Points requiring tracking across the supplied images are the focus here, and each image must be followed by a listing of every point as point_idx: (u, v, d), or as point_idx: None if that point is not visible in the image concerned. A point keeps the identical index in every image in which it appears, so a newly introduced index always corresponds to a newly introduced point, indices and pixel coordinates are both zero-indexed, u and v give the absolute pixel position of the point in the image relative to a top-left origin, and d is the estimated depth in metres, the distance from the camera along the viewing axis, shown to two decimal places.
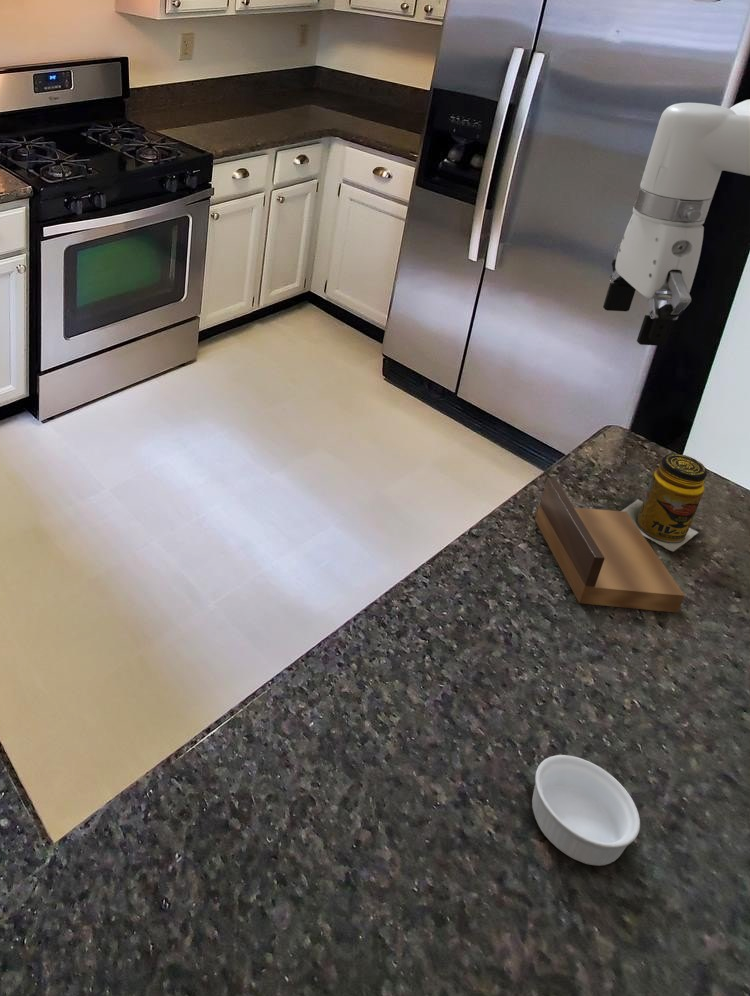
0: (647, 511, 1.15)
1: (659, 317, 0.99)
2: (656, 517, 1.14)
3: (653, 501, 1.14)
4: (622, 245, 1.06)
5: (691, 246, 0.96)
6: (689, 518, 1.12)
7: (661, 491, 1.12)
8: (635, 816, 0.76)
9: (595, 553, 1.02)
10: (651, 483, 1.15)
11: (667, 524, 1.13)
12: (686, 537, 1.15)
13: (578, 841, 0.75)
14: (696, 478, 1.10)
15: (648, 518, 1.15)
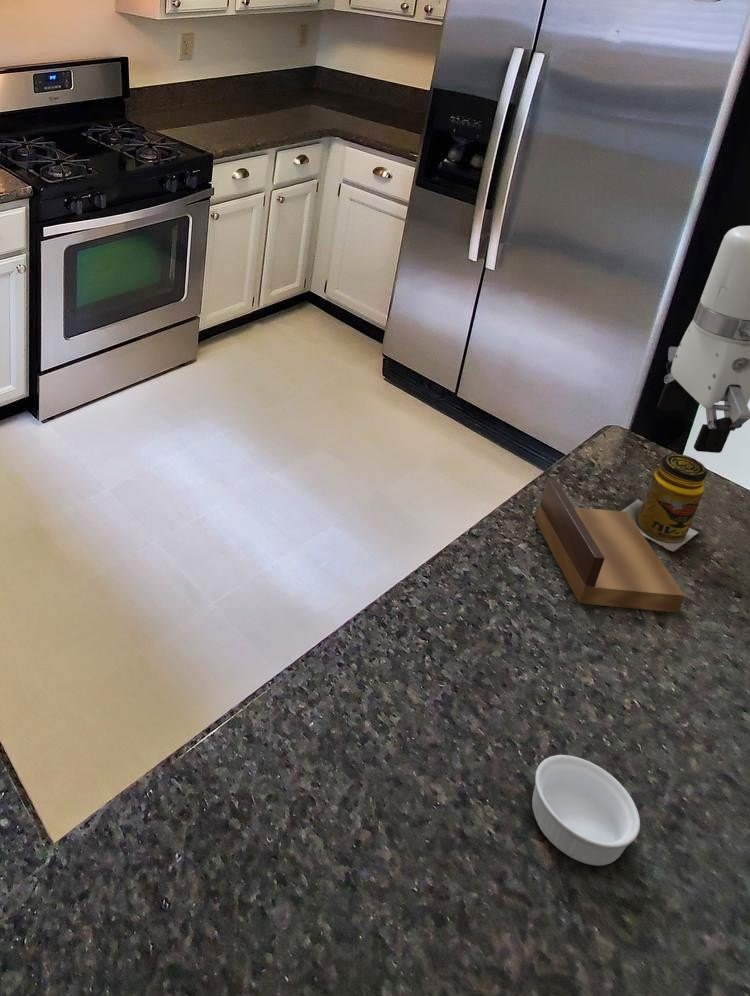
0: (647, 511, 1.15)
1: (717, 428, 1.03)
2: (656, 517, 1.14)
3: (653, 501, 1.14)
4: (679, 352, 1.10)
5: None
6: (689, 518, 1.12)
7: (661, 491, 1.12)
8: (635, 816, 0.76)
9: (595, 553, 1.02)
10: (651, 483, 1.15)
11: (667, 524, 1.13)
12: (686, 537, 1.15)
13: (578, 841, 0.75)
14: (696, 478, 1.10)
15: (648, 518, 1.15)
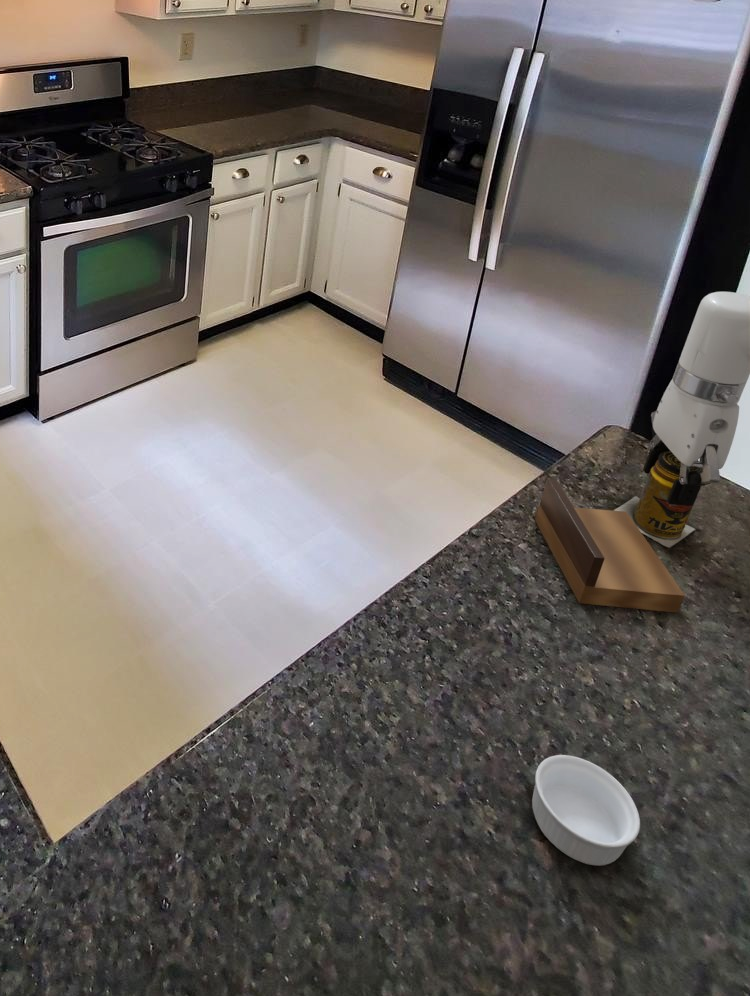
0: (644, 508, 1.16)
1: (688, 484, 1.09)
2: (653, 513, 1.15)
3: (650, 497, 1.15)
4: (660, 409, 1.14)
5: (727, 424, 1.04)
6: (685, 515, 1.13)
7: (657, 487, 1.13)
8: (635, 816, 0.76)
9: (595, 553, 1.02)
10: (648, 480, 1.15)
11: (663, 520, 1.14)
12: (683, 534, 1.16)
13: (578, 841, 0.75)
14: (692, 474, 1.10)
15: (645, 514, 1.16)
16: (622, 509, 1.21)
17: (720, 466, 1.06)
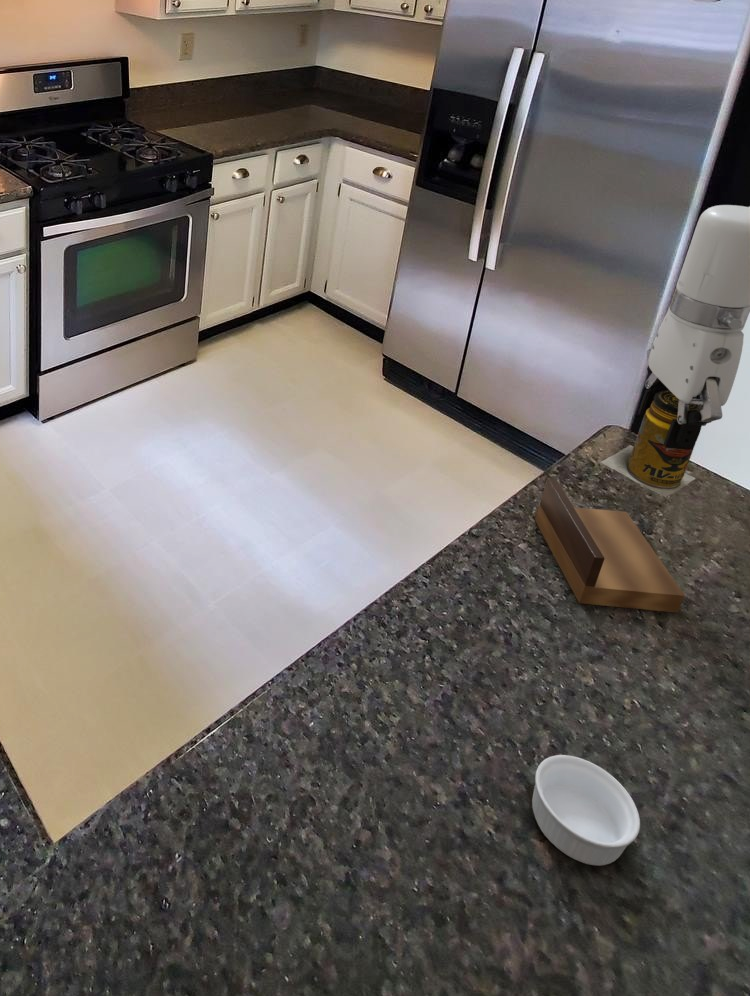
0: (638, 454, 1.05)
1: (687, 423, 0.97)
2: (648, 460, 1.03)
3: (645, 442, 1.03)
4: (656, 343, 1.02)
5: (730, 354, 0.93)
6: (684, 461, 1.02)
7: (653, 430, 1.02)
8: (635, 816, 0.76)
9: (595, 553, 1.02)
10: (642, 423, 1.04)
11: (659, 467, 1.03)
12: (682, 483, 1.04)
13: (578, 841, 0.75)
14: None
15: (640, 461, 1.04)
16: (615, 458, 1.09)
17: (722, 402, 0.95)
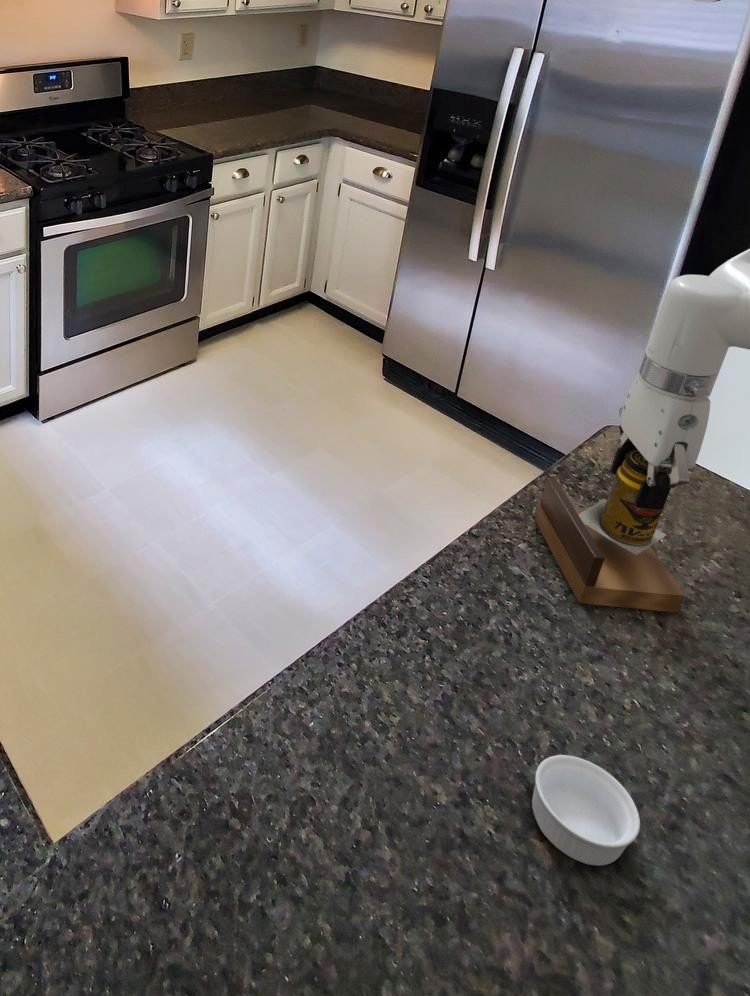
0: (610, 511, 1.07)
1: (656, 485, 0.99)
2: (619, 518, 1.05)
3: (616, 500, 1.05)
4: (627, 403, 1.04)
5: (697, 420, 0.95)
6: (654, 519, 1.04)
7: (624, 489, 1.04)
8: (635, 816, 0.76)
9: (595, 553, 1.02)
10: (614, 481, 1.06)
11: (630, 525, 1.05)
12: (652, 540, 1.06)
13: (578, 841, 0.75)
14: None
15: (611, 519, 1.06)
16: (588, 513, 1.11)
17: (690, 466, 0.97)
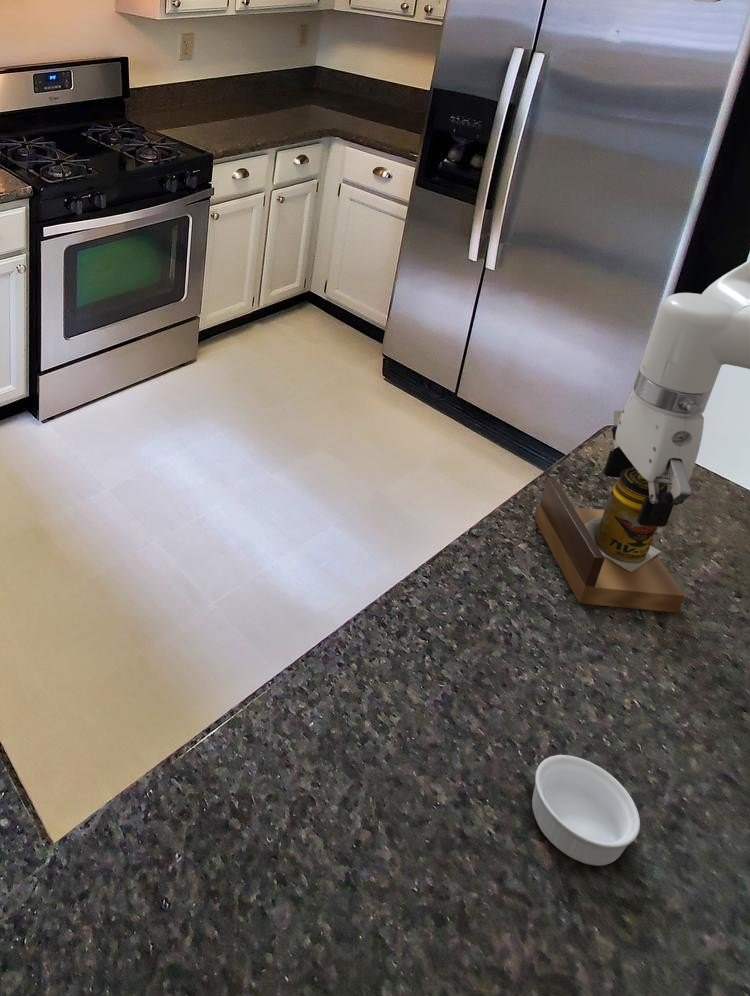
0: (605, 528, 1.08)
1: (659, 503, 0.99)
2: (614, 535, 1.07)
3: (611, 517, 1.07)
4: (622, 419, 1.05)
5: (691, 437, 0.96)
6: (648, 537, 1.05)
7: (619, 507, 1.05)
8: (635, 816, 0.76)
9: (595, 553, 1.02)
10: (609, 498, 1.07)
11: (625, 542, 1.06)
12: (647, 556, 1.08)
13: (578, 841, 0.75)
14: None
15: (606, 535, 1.08)
16: None
17: None
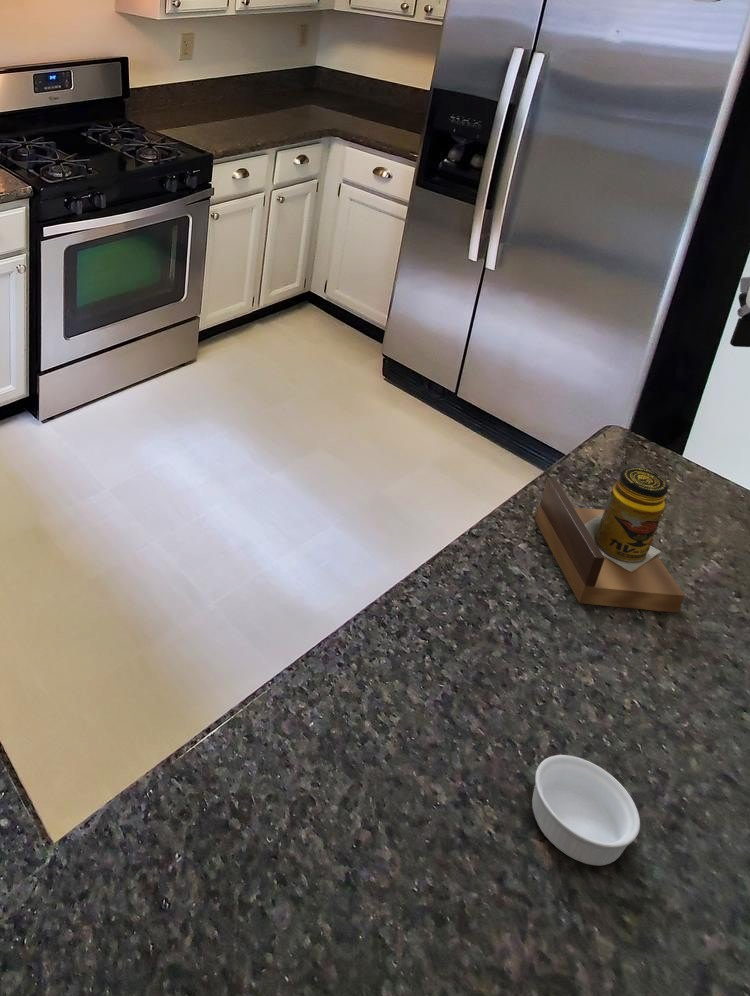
0: (605, 528, 1.08)
1: None
2: (614, 535, 1.07)
3: (611, 517, 1.07)
4: None
5: None
6: (648, 537, 1.05)
7: (619, 507, 1.05)
8: (635, 816, 0.76)
9: (595, 553, 1.02)
10: (609, 498, 1.07)
11: (625, 542, 1.06)
12: (647, 556, 1.08)
13: (578, 841, 0.75)
14: (655, 494, 1.02)
15: (606, 535, 1.08)
16: None
17: None
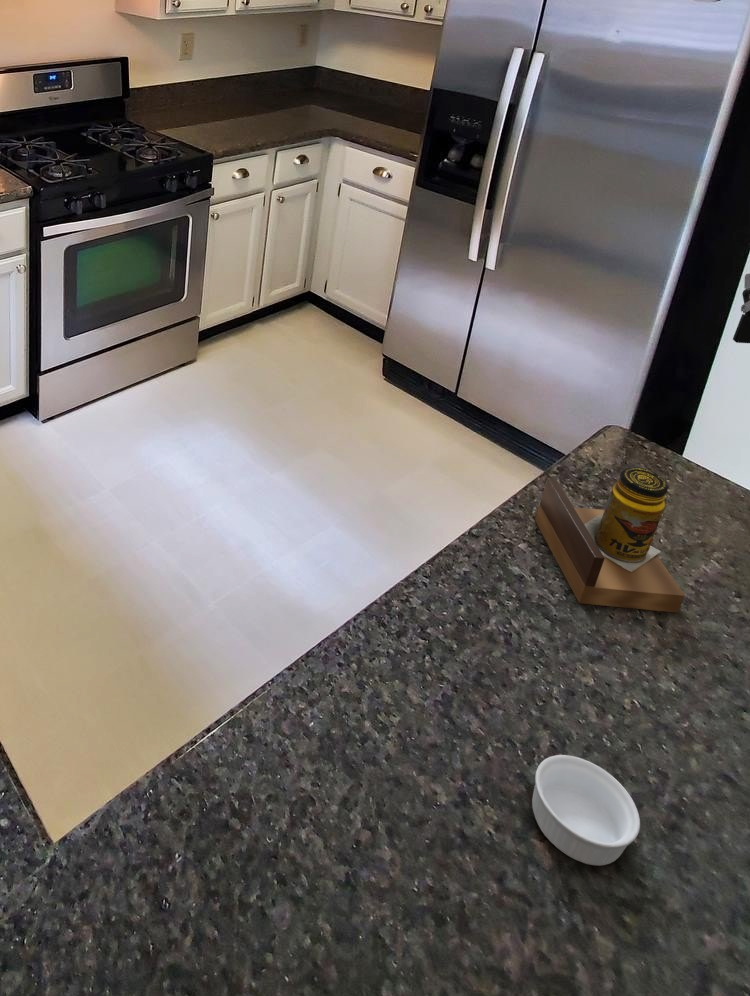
0: (605, 528, 1.08)
1: None
2: (614, 535, 1.07)
3: (611, 517, 1.07)
4: None
5: None
6: (648, 537, 1.05)
7: (619, 507, 1.05)
8: (635, 816, 0.76)
9: (595, 553, 1.02)
10: (609, 498, 1.07)
11: (625, 542, 1.06)
12: (647, 556, 1.08)
13: (578, 841, 0.75)
14: (655, 494, 1.02)
15: (606, 535, 1.08)
16: None
17: None
